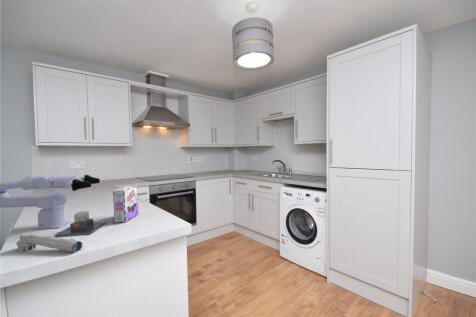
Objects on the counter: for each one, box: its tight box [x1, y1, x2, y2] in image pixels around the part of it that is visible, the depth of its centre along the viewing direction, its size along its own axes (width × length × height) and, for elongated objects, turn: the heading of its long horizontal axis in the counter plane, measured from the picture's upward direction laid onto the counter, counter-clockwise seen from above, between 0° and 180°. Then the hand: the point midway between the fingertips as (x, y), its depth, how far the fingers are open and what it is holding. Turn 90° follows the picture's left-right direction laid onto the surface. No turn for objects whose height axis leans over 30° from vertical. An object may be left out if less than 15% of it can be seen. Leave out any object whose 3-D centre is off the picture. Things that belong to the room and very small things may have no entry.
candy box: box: [112, 185, 139, 224], centre depth 114 cm, size 14×6×16 cm, turn 179°
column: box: [73, 210, 90, 223], centre depth 99 cm, size 4×4×7 cm
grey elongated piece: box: [15, 231, 83, 253], centre depth 80 cm, size 5×7×25 cm
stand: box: [54, 218, 107, 238], centre depth 100 cm, size 14×14×4 cm
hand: (95, 182), depth 107 cm, fingers open, 7 cm apart
